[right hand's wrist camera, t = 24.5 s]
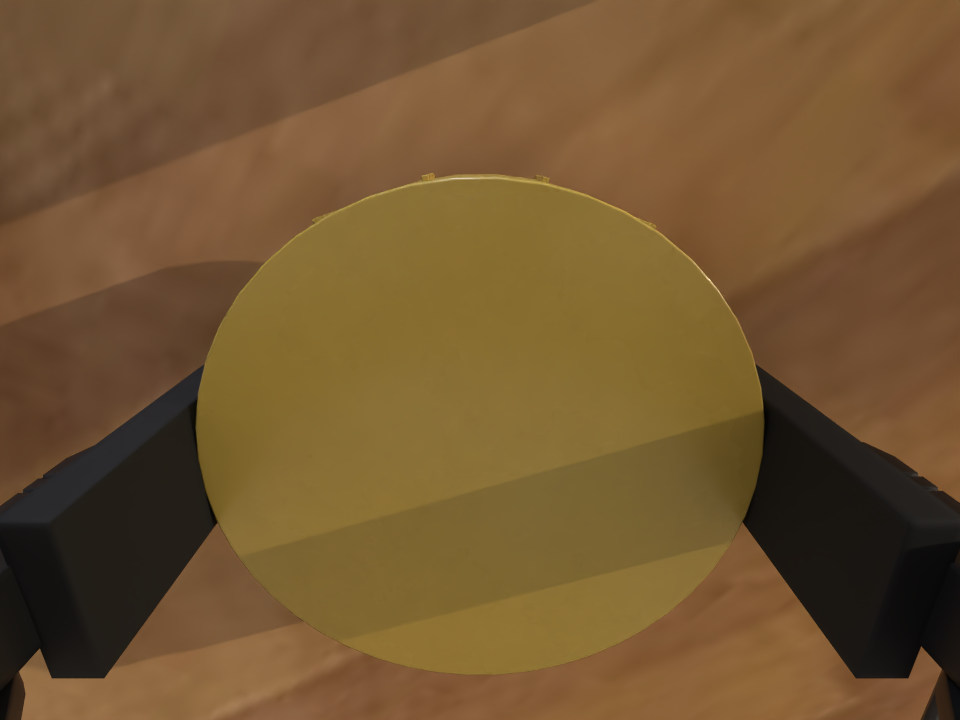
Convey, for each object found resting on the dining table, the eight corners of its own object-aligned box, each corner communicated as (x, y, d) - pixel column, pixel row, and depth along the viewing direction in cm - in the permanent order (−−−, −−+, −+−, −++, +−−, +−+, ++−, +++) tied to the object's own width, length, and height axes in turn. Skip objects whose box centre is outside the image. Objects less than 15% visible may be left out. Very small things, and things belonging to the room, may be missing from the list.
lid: (290, 621, 14) (262, 690, 12) (176, 194, 10) (109, 201, 8) (702, 597, 14) (736, 664, 12) (744, 147, 10) (804, 145, 8)
